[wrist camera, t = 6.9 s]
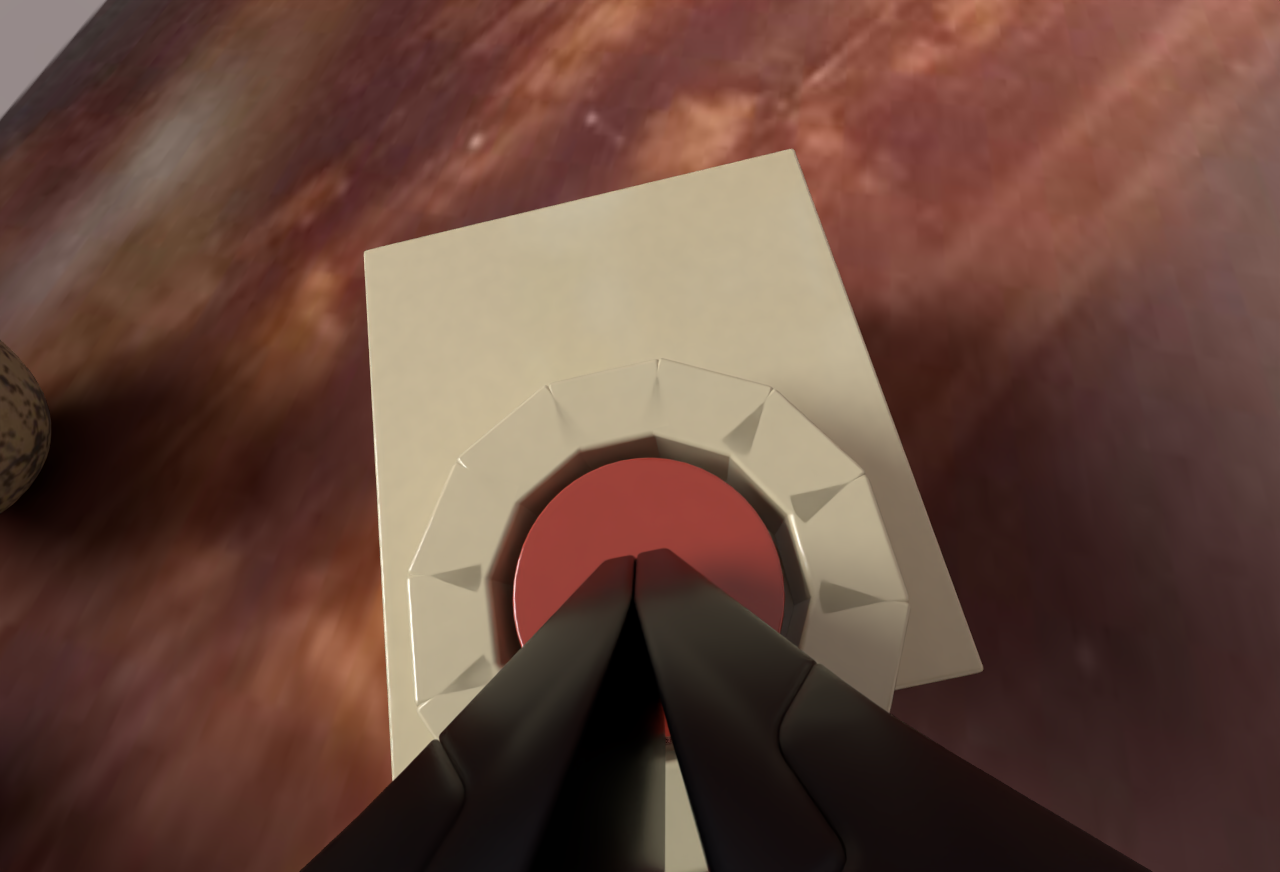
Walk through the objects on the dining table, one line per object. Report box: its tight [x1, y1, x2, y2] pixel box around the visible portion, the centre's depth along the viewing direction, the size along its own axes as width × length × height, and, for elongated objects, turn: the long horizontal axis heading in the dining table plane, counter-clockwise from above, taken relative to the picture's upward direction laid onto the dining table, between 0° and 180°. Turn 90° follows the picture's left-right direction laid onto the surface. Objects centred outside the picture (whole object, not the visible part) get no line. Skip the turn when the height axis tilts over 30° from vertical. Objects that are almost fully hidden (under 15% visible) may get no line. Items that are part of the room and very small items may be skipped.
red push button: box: [512, 457, 785, 738], centre depth 9 cm, size 4×4×2 cm
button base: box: [364, 149, 983, 872], centre depth 13 cm, size 11×9×8 cm
